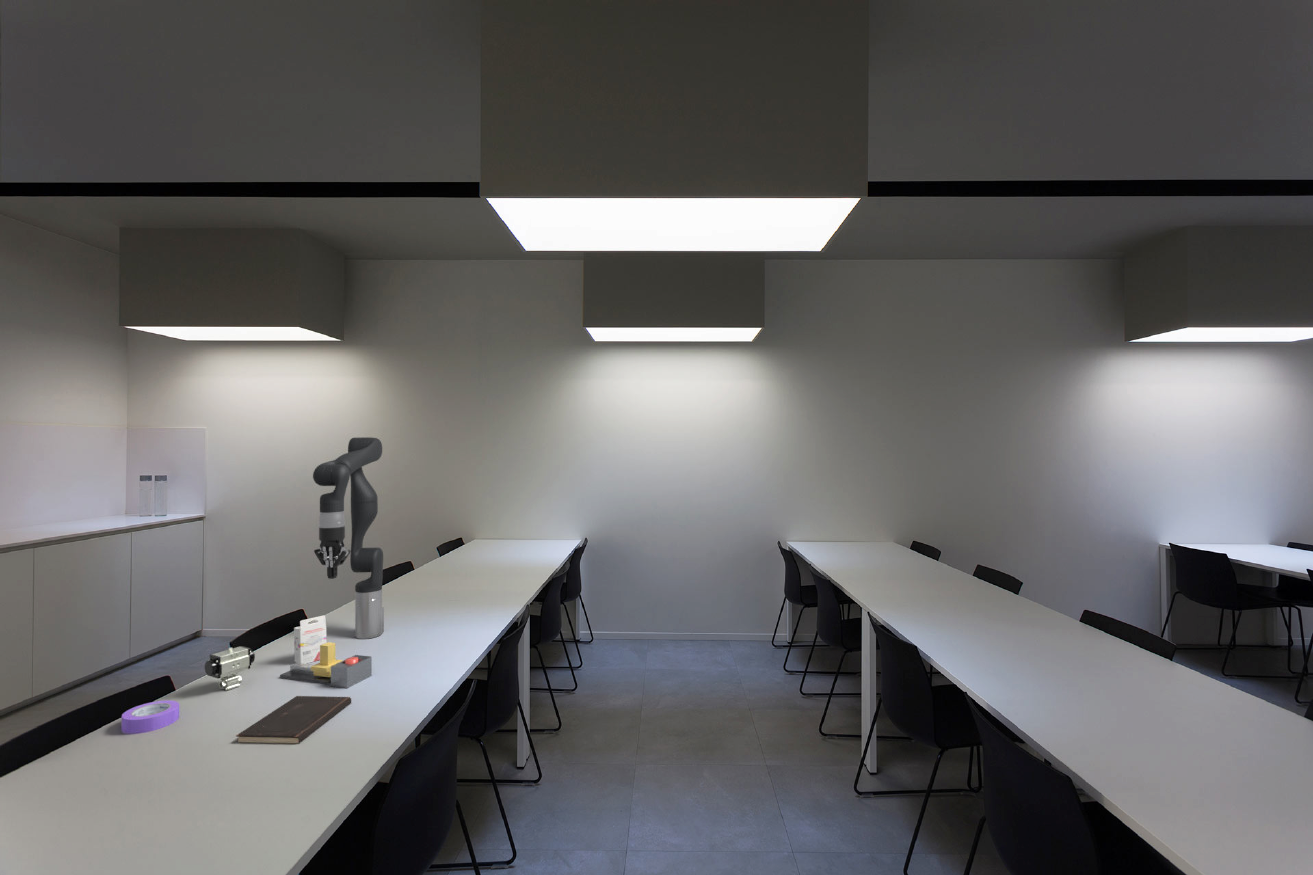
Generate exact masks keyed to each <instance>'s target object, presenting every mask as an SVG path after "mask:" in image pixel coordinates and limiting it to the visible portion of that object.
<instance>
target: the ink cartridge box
mask: <svg viewBox="0 0 1313 875" xmlns="http://www.w3.org/2000/svg"><path fill="white" fill-rule="evenodd" d="M312 621H314V622H313V623H311V622H312ZM315 621H316V622H315ZM326 621H327V620H326V616H325V614H323V615H320V616H315V617H310V618H307V619H302V620H300V621H299V625H300V626H296V627H293V642H294V644H293V645H294V649H293V650H294V655H293V656H294V664H295V663H302V664H311V663H313V662H317V661H320V645H322V644H325V643H327V622H326Z"/></svg>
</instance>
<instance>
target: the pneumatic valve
mask: <svg viewBox="0 0 1313 875" xmlns="http://www.w3.org/2000/svg"><path fill="white" fill-rule="evenodd" d="M255 658H256V656H255V651H254V650H253V648H250V647H247V646H242V645H241V646H237V647H234V648H233V647H228V648H227V649H226V650H223V651H220V652H216V653H212V654H209V658H208V660H206V661H205V663H204V671H205V674H206V675H207V676H209V677H210V678H211V677H212V678H215V679H220V681H219V683H218V687H219V689H221V690H225V691H230V690H234V689H237V688H239V687H240V686H241V683H242V682H243V680H242V679H243V678H242V676H241V675H240V674H239V673H241V672H244V671H246V670H250V669H251V666H252V663H254V662H255V660H256V659H255ZM238 674H239V675H238Z"/></svg>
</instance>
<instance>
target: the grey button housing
mask: <svg viewBox="0 0 1313 875" xmlns="http://www.w3.org/2000/svg"><path fill="white" fill-rule="evenodd" d="M351 657H358V662H356V663H354V664H345V659H342V660H343V661H341V662H339V663H337V664H335V665H332V666H331V684H330V687H334V688H335V687H336V688H342V689H343V688H344V689H349V688H351V687H353V686H354V685H357V684H358V683H360V682H362V681H365V680H366V679H369V678H370V677H372V673H373V672H372V671H373V670H372V668H373V667H372V664H373V662H372V660H373V659H372V656H368V655H362V654H361V655H359V654H355V655H352V656H351Z"/></svg>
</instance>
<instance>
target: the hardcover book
mask: <svg viewBox="0 0 1313 875" xmlns="http://www.w3.org/2000/svg"><path fill="white" fill-rule="evenodd" d="M351 704H352V698H351V696H319V695H317V696H315V695H313V696H312V695H311V696H310V695H296V696H294V697H292V698H291V699H290V700H289V701H287V702H285V703H284V704H282V705H281V706H279V707H278V708H276V709H274V710H272V711H271V712H270V713H268V714H267V715H265V716H264V717H262V718H261V719H259V720H258V721H256V722H255V723H253V724H251V725H250V726H248V727H247V728H245V729H244V730H242V731H241V732H239V733H238V734H236V735H235V737H237V738H238V739H237V740H238V743H259V744H260V743H264V744H267V743H269V744H270V743H271V744H272V743H273V744H298V745H300V744H301V743H302V742H303V741H305V740H306V739H307V738H309V737H310V736H312V734H314V733H315V732H316V731H318V730H319V729H320V728H321V727H322V726H323V727H324V725H325V724H326V723H328V722H329V721H330V720H332V719H333V718H334V717H335V716H337V715H338V714H340V713H341V712H342V711H343V710H345V709H346V708H347V707H348V706H349V705H351Z"/></svg>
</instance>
